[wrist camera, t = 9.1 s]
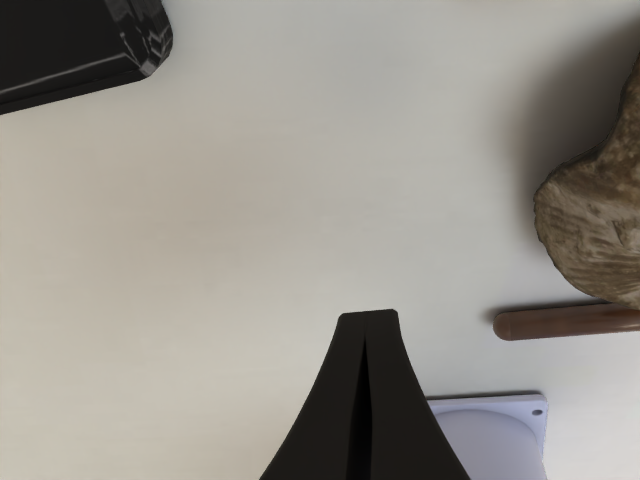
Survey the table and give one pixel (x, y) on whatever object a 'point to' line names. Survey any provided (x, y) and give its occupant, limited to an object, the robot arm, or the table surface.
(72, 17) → the phone
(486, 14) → the table surface
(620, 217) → the fossilized seashell
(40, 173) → the table surface
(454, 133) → the table surface
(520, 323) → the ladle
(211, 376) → the table surface
